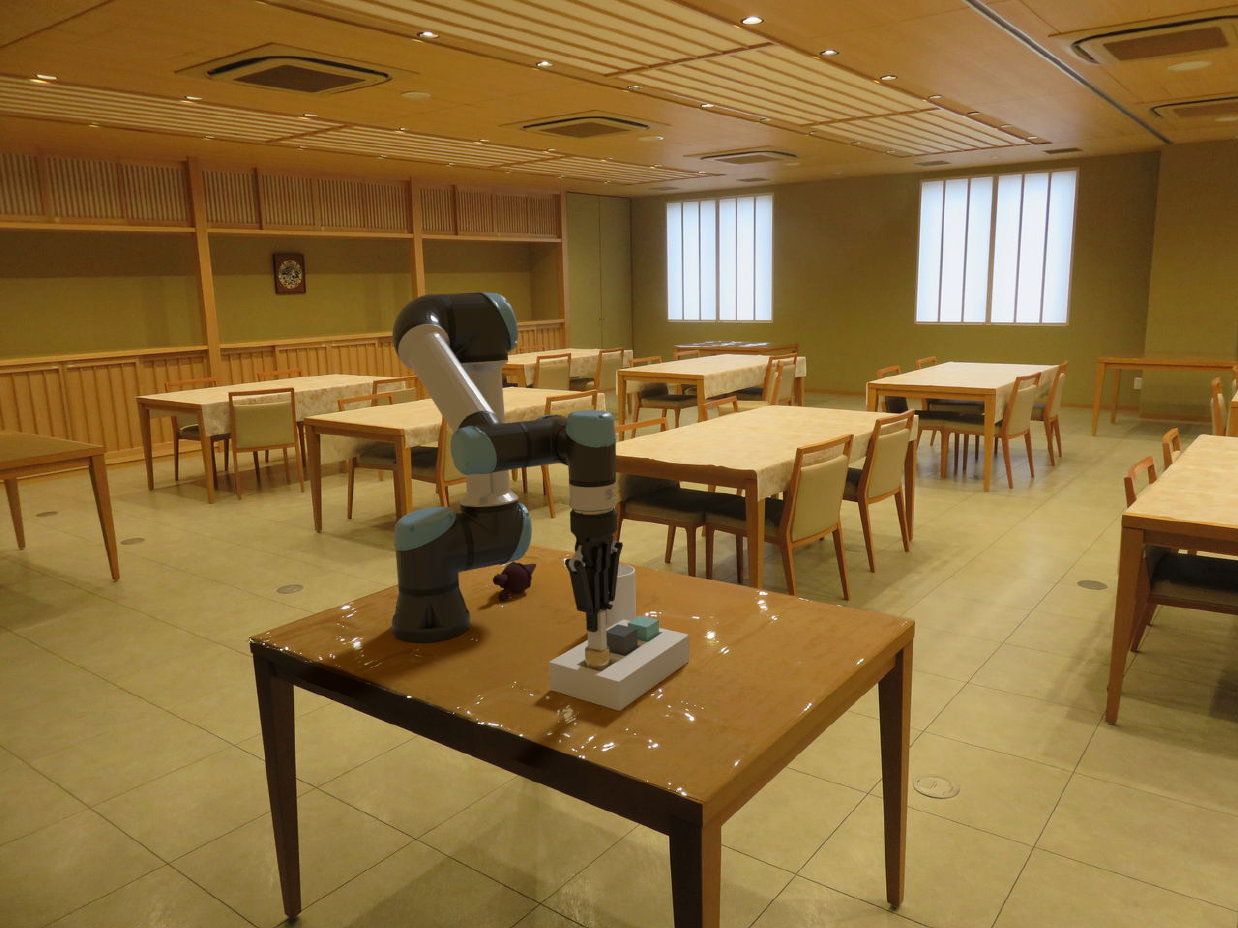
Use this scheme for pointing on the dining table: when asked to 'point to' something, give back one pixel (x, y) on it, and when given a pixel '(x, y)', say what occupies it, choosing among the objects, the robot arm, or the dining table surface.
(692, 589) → the dining table surface
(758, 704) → the dining table surface
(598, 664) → the gold metal cylinder
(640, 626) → the teal cube
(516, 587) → the dark purple knobbly piece
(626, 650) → the dark grey cube
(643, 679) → the white slotted tray
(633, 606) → the mug
